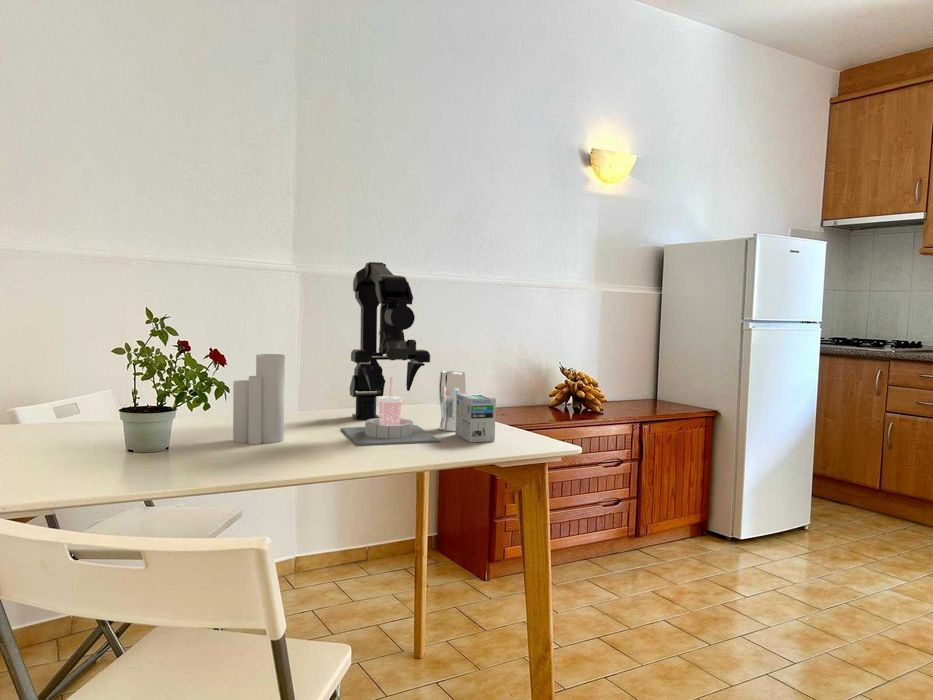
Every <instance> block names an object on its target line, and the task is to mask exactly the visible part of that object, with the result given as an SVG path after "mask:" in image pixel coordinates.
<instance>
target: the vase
mask: <svg viewBox="0 0 933 700" xmlns="http://www.w3.org/2000/svg"><path fill="white" fill-rule="evenodd" d="M255 356H256V358H255V359H256V360H255V364H256V365H255V366H256V367H255V368H256V369H255V375H249V376H248V379H246V380H245V379H241V380H240V379H239V380H234V381H233V389H232V391H233V397H232V398H233V399H232V400H233V401H232V403H233V405H232V406H233V408H232V409H233V410H232V411H233V412H232V414H233V415H232V416H233V418H232V419H233V420H232V421H233V422H232V425H233V427H232V430H233V431H232V441H233V443H239V444H242V443H248V444H249V445H253V446H255V445H261V444H262V443H263V444H274V443H275V444H276V443H281V442H283V441H284V440H285V438H284V437H285V378H286V377H285V374H286V373H285V369H286V368H285V365H286V363H285V362H286V361H285V359H286V356H285V354H279V353H262V354H261V353H260V354H256V355H255Z"/></svg>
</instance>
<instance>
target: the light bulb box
mask: <svg viewBox="0 0 933 700" xmlns="http://www.w3.org/2000/svg"><path fill="white" fill-rule="evenodd" d="M496 400H497V398H495V397H491V396H489V395H486V394H483V393H480V392H465V393H456V431H455V436H458V437H460V438H461V439H463V440H465V441H466V442H469V443H483V442H484V443H489V442H495V439H496V405H497V402H496Z"/></svg>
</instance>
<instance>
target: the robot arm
mask: <svg viewBox="0 0 933 700" xmlns="http://www.w3.org/2000/svg"><path fill="white" fill-rule="evenodd" d="M352 289H353V290H352V291H353V292H354V298H355V300H356V302H357V303H358V305H359V307H360V341H359V342H360V346H359V347H360V348H359V349H352V350H351V352H350V361H351V362H352V363H353V362H354V363H356V366H355V367H354V370H353V371H354V372H353V374H354V375H353V374H352V377H351V381H350V385H349V396H351V397H352V398H355V413H352V417H353V418H354V419H355V420H369V419H374V418H379V415H378V414H377V397H380V396H384V390H385V385H386V379H385V376H384V375H383V368H382V366H381V365H380V363H379V362H378V361H379V360H380V361H383V360H384V361H388V360H389V361H396V360H399V361H407V364H406V365H407V366H406V367H407V368H406V370H407V371H406V383H405V384H406V391H407V392H409V391H410V389H411V387H412V384H413V382H414V379H415V378H416V374H417V373H418V371H419V370H420V368H421V367H424V366H425V365H426V364H425V363H431V353H430V352H429V351H428V350H426V349H417V341H416V339H407V340H405V333H404V330H408V329H409V328H411V327H412V326H413V325H414V322H415V314H414V311H413V310H412V309H411V308H410V307H409V306H408V305H413V300H414V296H413V292H412V288H411V286H410V283H409V281H408V280H407V277H406V276H403V275H396V274H393V273H392V272H391V271H390V270H389V269H388V267H387V264H386V263H383V262H378V261H373V262H372V261H369V262H366V263H365V266H364V267H362V268H361V269H360V270H358V271H357V272H356V273H355V275H354V277H353V282H352ZM379 305H380V308H379V312H380V313H379V331H378V307H379ZM377 332H378V333H377ZM378 336H379V341H378ZM377 342H379V345H378V347H377V344H378V343H377Z"/></svg>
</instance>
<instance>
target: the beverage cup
mask: <svg viewBox="0 0 933 700" xmlns="http://www.w3.org/2000/svg"><path fill="white" fill-rule="evenodd" d="M392 377H393V376H392ZM392 377H391V376H390V377H389V390H388V391H389V395H383V396H377V402H378V416H379V420H380V425H399V423H400V418H401V411H402V402H403V397H402V396H396V395H392V383H393V382H392V381H393V378H392Z"/></svg>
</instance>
